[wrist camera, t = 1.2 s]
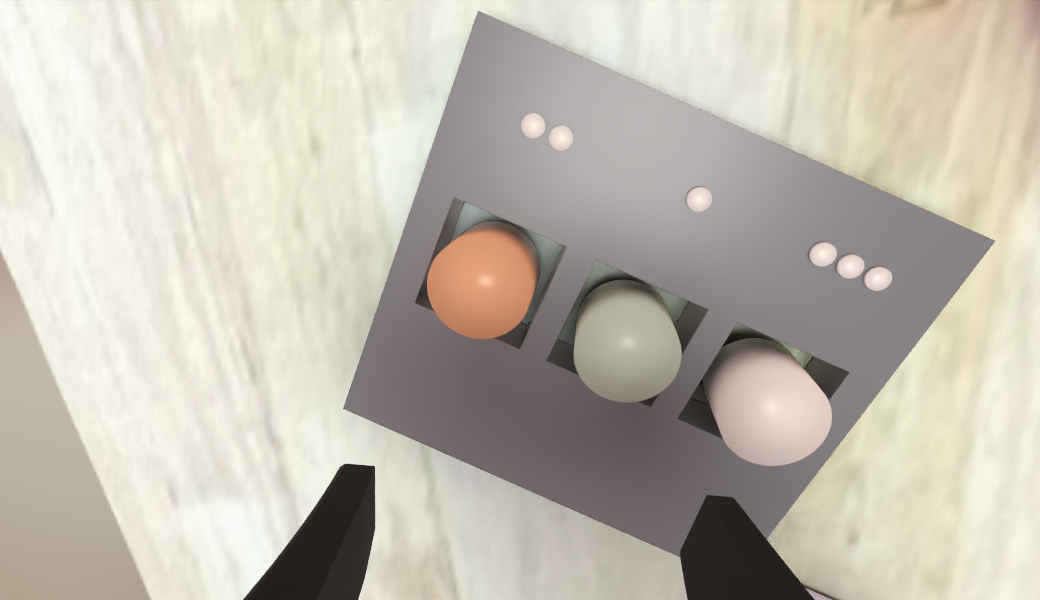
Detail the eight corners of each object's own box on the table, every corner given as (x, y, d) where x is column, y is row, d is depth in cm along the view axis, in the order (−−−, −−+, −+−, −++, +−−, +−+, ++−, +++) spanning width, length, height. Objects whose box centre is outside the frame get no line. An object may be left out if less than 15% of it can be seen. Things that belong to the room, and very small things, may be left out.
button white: (818, 361, 20) (854, 400, 17) (767, 434, 22) (793, 481, 19) (732, 323, 20) (754, 355, 17) (686, 398, 22) (699, 440, 19)
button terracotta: (554, 244, 20) (548, 264, 17) (519, 324, 21) (507, 355, 19) (468, 206, 20) (447, 219, 17) (437, 288, 21) (413, 313, 19)
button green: (687, 302, 20) (701, 332, 17) (643, 379, 22) (650, 418, 19) (600, 264, 20) (601, 288, 17) (562, 343, 22) (557, 376, 19)
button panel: (947, 226, 19) (999, 242, 17) (721, 537, 25) (735, 584, 22) (492, 23, 19) (476, 9, 17) (367, 381, 25) (341, 411, 22)
